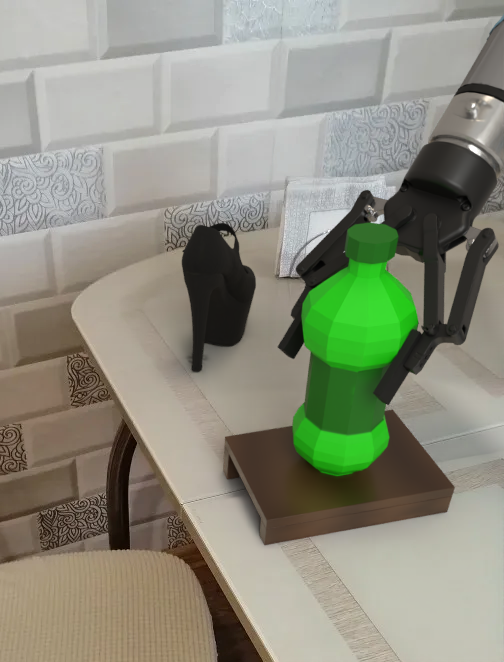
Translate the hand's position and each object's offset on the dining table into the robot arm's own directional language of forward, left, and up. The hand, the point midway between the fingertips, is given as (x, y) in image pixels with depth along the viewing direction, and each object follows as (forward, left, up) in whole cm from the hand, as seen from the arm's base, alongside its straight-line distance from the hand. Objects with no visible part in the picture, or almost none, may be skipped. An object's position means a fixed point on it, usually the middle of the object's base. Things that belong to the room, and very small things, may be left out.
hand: (331, 375), depth 75 cm
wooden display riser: (-3, -1, -17) cm, 17 cm away
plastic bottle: (-3, -1, -12) cm, 13 cm away
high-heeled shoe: (0, -35, -17) cm, 39 cm away
